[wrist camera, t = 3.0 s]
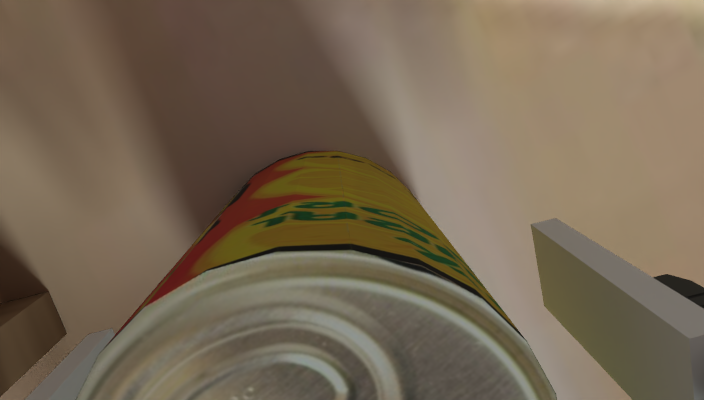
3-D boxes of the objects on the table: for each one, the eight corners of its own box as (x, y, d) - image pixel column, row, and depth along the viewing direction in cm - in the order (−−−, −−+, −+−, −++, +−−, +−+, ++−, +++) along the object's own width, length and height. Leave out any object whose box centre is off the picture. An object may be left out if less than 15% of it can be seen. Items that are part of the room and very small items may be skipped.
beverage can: (343, 103, 19) (367, 132, 7) (471, 271, 21) (655, 508, 9) (171, 241, 20) (-53, 461, 8) (309, 389, 22) (286, 740, 10)
